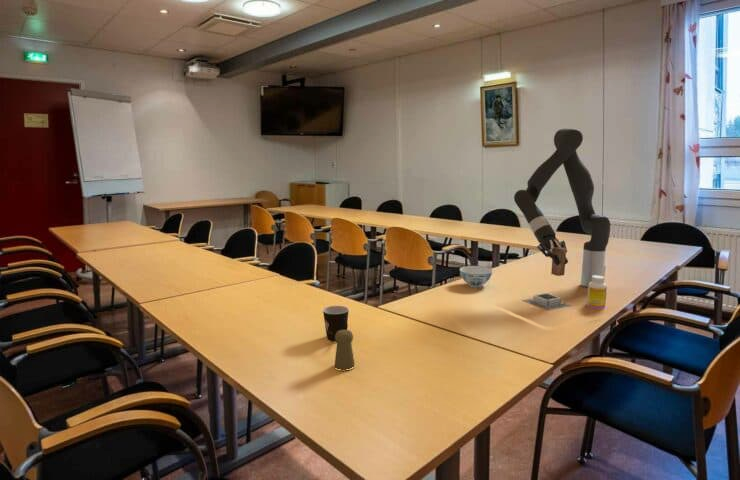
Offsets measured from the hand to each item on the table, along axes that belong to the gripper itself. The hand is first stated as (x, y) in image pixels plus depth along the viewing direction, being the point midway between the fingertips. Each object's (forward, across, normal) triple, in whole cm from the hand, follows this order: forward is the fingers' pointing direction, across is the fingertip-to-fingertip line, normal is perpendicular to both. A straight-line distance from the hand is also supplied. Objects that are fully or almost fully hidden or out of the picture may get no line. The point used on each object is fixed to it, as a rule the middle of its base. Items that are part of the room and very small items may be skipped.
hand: (562, 263), depth 186 cm
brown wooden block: (+2, 0, +5) cm, 5 cm away
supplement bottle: (+19, +10, +6) cm, 22 cm away
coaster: (+11, -5, +14) cm, 18 cm away
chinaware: (-14, -13, +39) cm, 44 cm away
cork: (+23, -100, +3) cm, 103 cm away
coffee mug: (+9, -95, +17) cm, 97 cm away
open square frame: (+10, -5, +13) cm, 17 cm away
